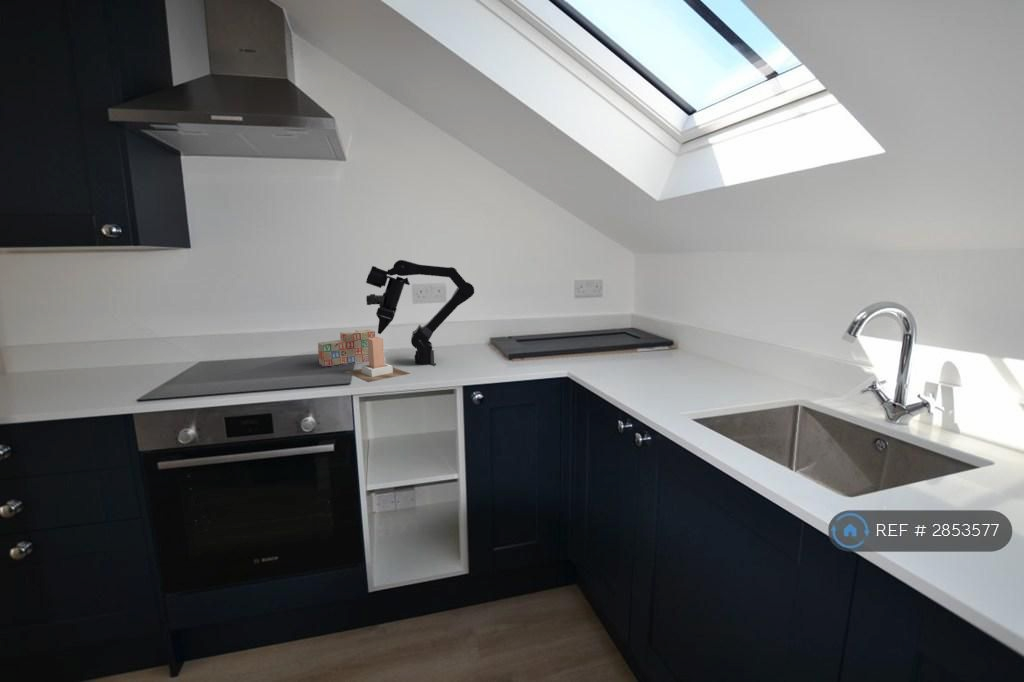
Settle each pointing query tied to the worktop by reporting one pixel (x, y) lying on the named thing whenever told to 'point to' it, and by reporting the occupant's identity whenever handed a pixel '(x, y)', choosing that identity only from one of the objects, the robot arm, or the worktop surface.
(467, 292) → the robot arm
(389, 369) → the white square frame
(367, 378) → the walnut board
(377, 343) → the terracotta pillar
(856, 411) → the worktop surface
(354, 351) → the stack of blocks
